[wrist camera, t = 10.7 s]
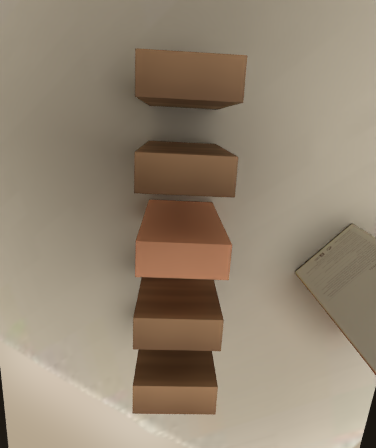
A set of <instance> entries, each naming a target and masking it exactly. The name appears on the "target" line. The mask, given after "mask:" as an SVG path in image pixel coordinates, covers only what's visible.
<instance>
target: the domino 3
mask: <svg viewBox="0 0 376 448" xmlns="http://www.w3.org/2000/svg"><path fill="white" fill-rule="evenodd" d="M231 251H232V244H231V242H230V240H229V237H228V235H227V233H226V231H225V229H224V227H223V225H222V222H221V220H220V218H219V216H218V214H217V212H216V209H215V207H214V205H213V203H212V202H193V201H171V200H149V202H148V205H147V208H146V211H145V214H144V217H143V220H142V223H141V226H140V229H139V233H138V236H137V239H136V256H135V277H154V278H183V279H212V280H229V272H230V261H231Z"/></svg>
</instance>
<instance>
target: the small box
mask: <svg viewBox="0 0 376 448" xmlns="http://www.w3.org/2000/svg"><path fill="white" fill-rule="evenodd" d="M296 275H297V276H298V277H299V279H300V280H301V281H302V282H303V284H304V285H305V286H306V287H307V289H308V290H309V291H310V292H311V293H312V295H313V296H314V297H315V298H316V300H317V301H318V302H319V303H320V305H321V306H322V307H323V308H324V310H325V311H326V312H327V314H328V315H329V316H330V317H331V319H332V320H333V321H334V323H335V324H336V325H337V326H338V328H339V329H340V330H341V331H342V333H343V334H344V335H345V336H346V338H347V339H348V340H349V341H350V343H351V344H352V345H353V346H354V348H355V349H356V350H357V352H358V353H359V354H360V355H361V357H362V358H363V359H364V361H365V362H366V363H367V364H368V366H369V367H370V368H371V370H372V371H373V372H374V373H375V375H376V238H375V237H374V236H372V235H371V234H369V233H367V232H366V231H364V230H362V229H361V228H359V227H357V226H356V225H354V224H351V225H350V226H349V227H347V228H346V229H345V230H344V231H343V232H341V233H340V234H339V235H338V236H337V237H336V238H334V239H333V240H332V241H331V242H330V243H329V244H327V245H326V246H325V247H324V248H323V249H322V250H320V251H319V252H318V253H317V254H316V255H315V256H313V257H312V258H311V259H310V260H309V261H308V262H306V263H305V264H304V265H303V266H302V267H301V268H299V269H298V270H297V271H296Z"/></svg>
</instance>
